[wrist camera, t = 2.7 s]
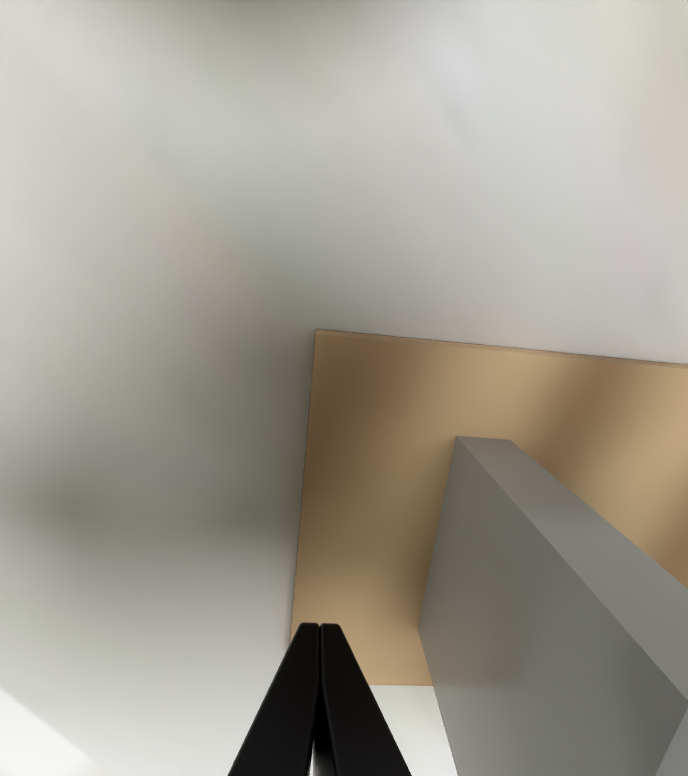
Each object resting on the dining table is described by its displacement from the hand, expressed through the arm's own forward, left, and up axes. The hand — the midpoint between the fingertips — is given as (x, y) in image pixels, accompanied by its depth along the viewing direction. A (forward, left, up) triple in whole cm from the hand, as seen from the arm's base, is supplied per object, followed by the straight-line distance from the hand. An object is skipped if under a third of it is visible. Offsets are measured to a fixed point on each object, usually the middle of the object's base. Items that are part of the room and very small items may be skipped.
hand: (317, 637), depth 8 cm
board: (-6, 0, -4) cm, 8 cm away
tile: (-4, 0, -3) cm, 6 cm away
